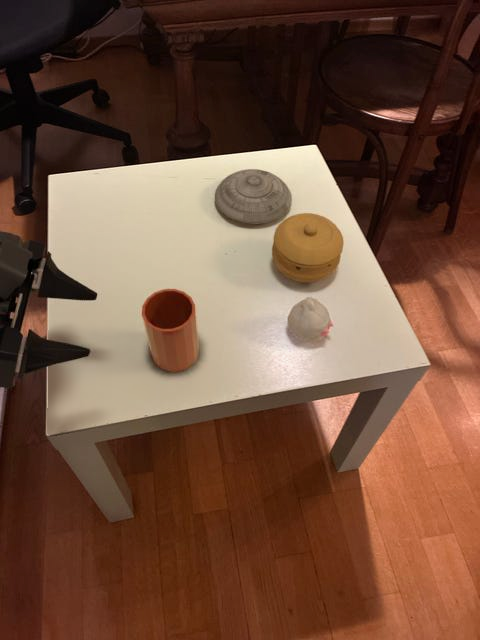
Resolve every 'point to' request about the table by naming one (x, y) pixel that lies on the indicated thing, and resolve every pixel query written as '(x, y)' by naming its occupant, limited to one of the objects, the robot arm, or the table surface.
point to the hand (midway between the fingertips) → (93, 323)
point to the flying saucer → (253, 196)
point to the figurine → (309, 320)
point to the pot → (307, 247)
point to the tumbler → (171, 329)
